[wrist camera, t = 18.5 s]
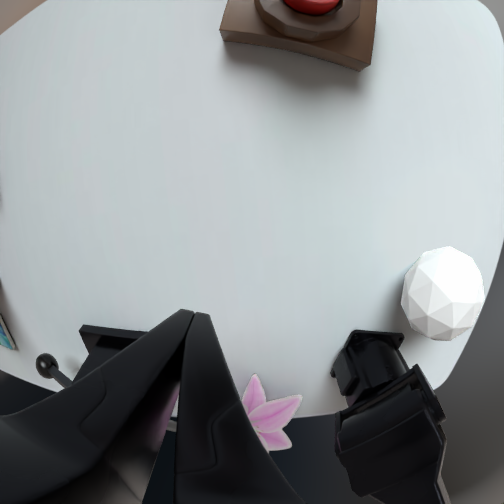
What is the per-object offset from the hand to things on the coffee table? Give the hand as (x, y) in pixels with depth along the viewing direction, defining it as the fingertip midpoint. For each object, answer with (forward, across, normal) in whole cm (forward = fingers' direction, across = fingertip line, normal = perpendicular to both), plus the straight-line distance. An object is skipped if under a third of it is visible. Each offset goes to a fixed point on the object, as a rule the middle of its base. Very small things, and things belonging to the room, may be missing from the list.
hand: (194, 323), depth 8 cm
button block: (+13, -2, -16) cm, 21 cm away
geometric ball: (+13, -18, +2) cm, 22 cm away
